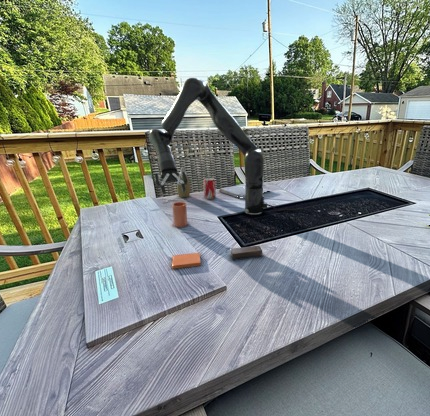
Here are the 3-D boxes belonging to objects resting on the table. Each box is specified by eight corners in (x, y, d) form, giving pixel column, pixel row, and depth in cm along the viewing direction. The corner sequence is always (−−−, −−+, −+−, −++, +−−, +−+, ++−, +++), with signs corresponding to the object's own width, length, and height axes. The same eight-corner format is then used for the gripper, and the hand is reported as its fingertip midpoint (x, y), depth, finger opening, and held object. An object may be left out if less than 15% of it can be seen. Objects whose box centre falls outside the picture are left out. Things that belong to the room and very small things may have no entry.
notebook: (250, 185, 194) (219, 191, 174) (250, 182, 193) (219, 188, 173) (271, 191, 181) (241, 199, 161) (271, 188, 180) (241, 195, 160)
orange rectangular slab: (199, 255, 96) (199, 252, 95) (200, 265, 89) (200, 262, 89) (173, 258, 93) (173, 255, 92) (172, 268, 87) (172, 265, 86)
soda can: (212, 200, 157) (212, 180, 153) (202, 198, 158) (201, 179, 154) (217, 196, 163) (217, 178, 159) (207, 195, 165) (206, 177, 161)
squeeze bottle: (193, 195, 164) (192, 166, 158) (185, 198, 157) (183, 169, 151) (182, 193, 166) (180, 165, 160) (174, 196, 159) (172, 167, 153)
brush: (259, 251, 100) (259, 245, 99) (262, 257, 97) (262, 250, 96) (230, 255, 97) (230, 248, 96) (232, 260, 93) (232, 253, 92)
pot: (187, 221, 124) (186, 201, 121) (187, 226, 119) (186, 205, 116) (174, 222, 122) (172, 202, 119) (173, 227, 117) (172, 206, 114)
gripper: (151, 160, 122) (158, 190, 116) (183, 159, 129) (190, 187, 124) (151, 169, 128) (157, 198, 122) (181, 167, 135) (188, 194, 130)
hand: (174, 192), depth 123 cm, fingers open, 8 cm apart
